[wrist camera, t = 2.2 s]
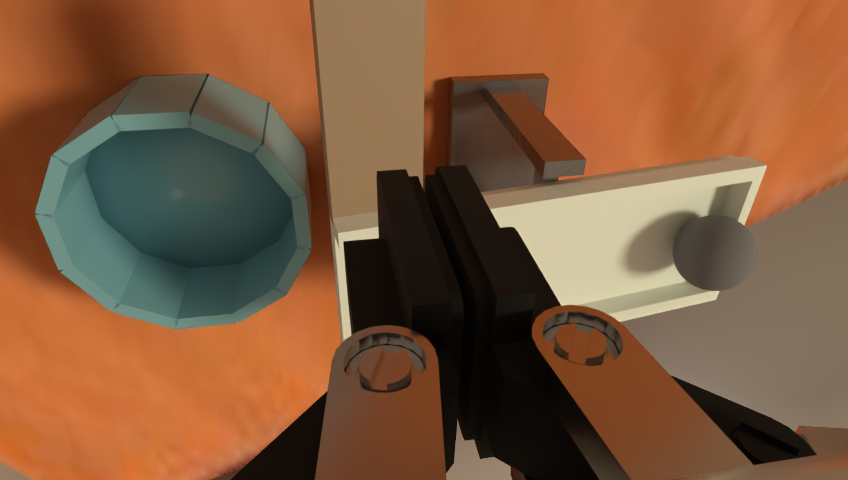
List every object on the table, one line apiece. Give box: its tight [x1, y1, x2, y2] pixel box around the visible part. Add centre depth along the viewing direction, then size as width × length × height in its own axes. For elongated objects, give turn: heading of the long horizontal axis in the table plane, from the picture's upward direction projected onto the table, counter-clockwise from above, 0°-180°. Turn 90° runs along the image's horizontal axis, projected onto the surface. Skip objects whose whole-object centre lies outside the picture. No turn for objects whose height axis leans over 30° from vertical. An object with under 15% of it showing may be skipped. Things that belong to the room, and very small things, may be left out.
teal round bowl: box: [35, 74, 312, 329], centre depth 33 cm, size 14×14×6 cm
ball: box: [673, 215, 758, 291], centre depth 30 cm, size 4×4×4 cm
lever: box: [310, 0, 767, 344], centre depth 27 cm, size 22×18×3 cm
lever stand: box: [447, 73, 586, 192], centre depth 34 cm, size 6×12×12 cm, turn 179°
